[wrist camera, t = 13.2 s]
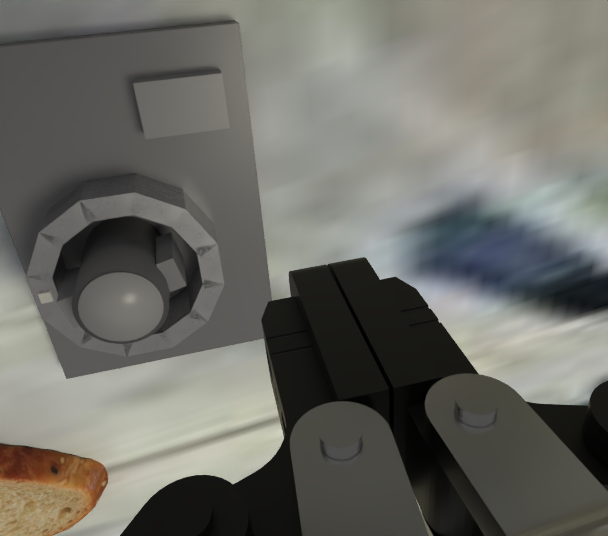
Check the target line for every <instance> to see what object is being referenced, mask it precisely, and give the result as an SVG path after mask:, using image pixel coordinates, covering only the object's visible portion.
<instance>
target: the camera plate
mask: <svg viewBox="0 0 608 536" xmlns="http://www.w3.org/2000/svg"><path fill="white" fill-rule="evenodd" d="M134 173H137V174H140V175H143V176H146V177H149V178H152V179H155V180H157V181H160V182H163V183H166V184H169V185H172V186H175V187H178V188H180V189H183V190H184V191H185V192H186V193H187V194H188V196H189V197H190V198H191V199H192V200H193V201H194V202H195V203H196V204H197V206H198V207H199V208H200V209H201V210H202V211H203V212H204V213H205V214H206V215H207V217H208V218H209V219H210V220H211V221H212V222H213V226H214V230H215V235H216V239H217V243H218V249H219V255H220V261H221V267H222V273H223V279H224V284H225V285H224V287H223V289H222V292H221V294H220V296H219V298H218V300H217V303H216V305H215V307H214V309H213V311H212V314H211V316H210V318H209V320H208V322H207V323H206V324H204V325H203V326H201V327H200V328H199V329H197V330H196V331H195V332H193V333H192V334H191V335H189V336H188V337H186V338H185V339H184V340H182V341H181V342H180V343H178V344H177V345H175V346H174V347H173V348H168V349H163V350H158V351H153V352H148V353H143V354H138V355H133V356H128V357H126V356H121V355H116V354H111V353H106V352H102V351H97V350H92V349H87V348H82V347H79V346H78V345H77V344H75V343H74V342H73V341H71V340H70V339H69V338H67V337H66V336H65V335H63V334H62V333H61V332H59V331H58V330H57V329H55V328H54V327H53V326H51V325H50V324H49V323H47V322H46V321H45V320H44V322H45V325H46V327H47V330H48V332H49V335H50V338H51V340H52V343H53V345H54V348H55V350H56V353H57V356H58V358H59V361H60V363H61V366H62V368H63V371H64V374H65V376H66V379H68V378H73V377H78V376H83V375H88V374H93V373H97V372H102V371H107V370H112V369H117V368H122V367H127V366H132V365H136V364H141V363H146V362H151V361H156V360H161V359H166V358H171V357H175V356H180V355H185V354H190V353H195V352H200V351H205V350H210V349H214V348H219V347H224V346H229V345H234V344H239V343H244V342H248V341H253V340H258V339H263V338H264V334H263V328H262V322H261V319H262V316H263V314H264V311H265V308H266V306H267V303H268V302H269V301H272V298H271V290H270V281H269V273H268V264H267V256H266V248H265V239H264V231H263V222H262V214H261V205H260V197H259V189H258V180H257V172H256V163H255V155H254V146H253V138H252V130H251V121H250V113H249V104H248V96H247V87H246V79H245V71H244V62H243V54H242V45H241V37H240V28H239V23H238V22H236V21H228V22H218V23H207V24H197V25H187V26H177V27H167V28H156V29H146V30H136V31H126V32H116V33H106V34H95V35H85V36H75V37H65V38H55V39H44V40H34V41H24V42H14V43H4V44H0V209H1V211H2V214H3V217H4V219H5V222H6V224H7V227H8V229H9V232H10V235H11V237H12V240H13V242H14V245H15V247H16V250H17V253H18V255H19V258H20V260H21V263H22V265H23V268H24V271H25V273H26V275H27V272H28V268H29V265H30V261H31V258H32V255H33V251H34V248H35V244H36V241H37V237H38V234H39V231H40V229H41V226H42V224H43V222H44V219H45V217H46V215H47V213H48V210H49V209H50V208H52V207H53V206H54V205H55V204H57V203H58V202H59V201H61V200H62V199H63V198H64V197H66V196H67V195H68V194H69V193H71V192H72V191H73V190H74V189H76V188H77V187H78V186H80V185H81V184H82V183H83V182H85V181H86V180H92V179H99V178H106V177H113V176H120V175H127V174H134ZM131 217H136V218H139V219H142V220H145V221H147V222H148V223H150V224H152V225H153V226H154V227H155V228H156V229H157V230H158V231H159V232H160V233H161V235H164V234H167V233H170V232H171V233H172V235H173V237H174V239H175V241H176V243H177V245H178V248H179V250H180V252H181V254H182V256H183V258H184V267H185V276H186V286H185V287H182V288H180V289H177V290H174V291H172V292H170V290H169V300H170V299H172V298H173V297H174V296H176V295H177V294H178V293H180V292H181V291H182V290H184V289H185V288H187V287H188V285H189V282H190V280H191V277H192V275H193V273H194V270H195V268H196V266H197V263H198V256H197V253H196V251H195V250H194V249H193V248H192V247H191V246H190V245H189V244H188V243H187V242H186V241H185V240H184V239H183V238H182V237H181V236H180V235H179V234H178V233H177V232H176V231H175V230H174V229H173V228H172V227H170V226H167V225H164V224H160V223H157V222H154V221H151V220H148V219H145V218H141V217H138V216H135V215H131ZM105 220H107V219H105ZM105 220H99V221H93V222H91V223H90V224H89V225H88V226H86V227H85V228H84V229H82V230H81V231H80V232H79V233H77V234H76V235H75V236H73V237H72V238H71V239H70V240H68V241H67V242H66V243H64V244H63V246H62V249H61V255H62V258H63V261H64V264H65V267H66V270H67V271H68V270H70V269H73V268H76V267H79V266H80V265H81V261H82V257H83V253H84V249H85V245H86V241H87V238H88V236H89V234H90V233H91V231H92V230H93V229H94V228H95V227H96V226H97V225H98V224H100V223H101V222H103V221H105Z"/></svg>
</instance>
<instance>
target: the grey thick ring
mask: <svg viewBox="0 0 608 536" xmlns="http://www.w3.org/2000/svg"><path fill="white" fill-rule="evenodd" d="M131 215H135V216H138V217H141V218H145V219H148V220H151V221H154V222H157V223H160V224H164V225H167V226H170V227H172V228H173V229H174V230H175V231H176V232H177V233H178V234H179V235H180V236H181V237H182V238H183V239H184V240H185V241H186V242H187V243H188V244H189V245H190V246H191V247H192V248H193V249H194V250H195V251H196V253H197V256H198V263H197V266H196V268H195V270H194V273H193V275H192V277H191V280H190V282H189V285H188V287H187V288H185V289H184V290H182V291H181V292H180V293H178V294H177V295H176V296H174V297H173V298H172V299H170V300H169V304H170V305H169V312H168V316H167V318H166V320H165V322H164V324H163V325H162V326H161V327H160V328H159V329H158V330H157V331H156V332H155V333H154V334H152V335H151V336H149V337H147V338H145V339H143V340H141V341H137V342H133V343H127V344H115V343H108V342H104V341H101V340H98V339H96V338H94V337H92V336H91V335H89V334H88V333H86V332H85V331H84V330H83V329H82V328H81V327H77V328H73V326H72V325H71V323H70V322H69V320H68V319H67V317H66V316H65V314H64V313H63V311H62V310H61V308H60V307H59V305H58V304H57V302H56V301H57V298H58V294H59V291H60V288H61V284H62V281H63V277H64V274H65V271H67V270H66V267H65V264H64V261H63V258H62V255H61V249H62V246H63V244H64V243H66V242H67V241H68V240H70V239H71V238H72V237H73V236H75V235H76V234H77V233H79V232H80V231H81V230H82V229H84V228H85V227H86V226H88V225H89V224H90V223H91V222H93V221H99V220H105V219H112V218H118V217H124V216H131ZM26 278H27V281H28V283H29V286H30V288H31V291H32V293H33V296H34V299H35V301H36V304H37V306H38V309H39V311H40V314H41V317H42V319H43V320H45V321H46V322H47V323H49V324H50V325H51V326H53V327H54V328H55V329H57V330H58V331H59V332H61V333H62V334H63V335H65V336H66V337H67V338H69V339H70V340H71V341H73V342H74V343H75V344H77V345H78V346H79V347H82V348H87V349H92V350H97V351H102V352H106V353H111V354H116V355H121V356H126V357H128V356H133V355H138V354H143V353H148V352H153V351H158V350H163V349H168V348H173V347H174V346H175V345H177V344H178V343H180V342H181V341H182V340H184V339H185V338H186V337H188V336H189V335H191V334H192V333H193V332H195V331H196V330H197V329H199V328H200V327H201V326H203V325H204V324H206V323H207V322H208V320H209V318H210V316H211V314H212V311H213V309H214V307H215V305H216V303H217V300H218V298H219V296H220V294H221V292H222V289H223V287H224V285H225V284H224V279H223V273H222V267H221V261H220V255H219V249H218V243H217V239H216V235H215V230H214V226H213V222H212V221H211V220H210V219H209V218H208V217H207V215H206V214H205V213H204V212H203V211H202V210H201V209H200V208H199V207H198V206H197V204H196V203H195V202H194V201H193V200H192V199H191V198H190V197H189V196H188V194H187V193H186V192H185V191H184V190H183V189H180V188H178V187H175V186H172V185H169V184H166V183H163V182H160V181H157V180H155V179H152V178H149V177H146V176H143V175H140V174H137V173H134V174H127V175H120V176H113V177H106V178H99V179H92V180H86V181H85V182H83V183H82V184H81V185H80V186H78V187H77V188H76V189H74V190H73V191H72V192H71V193H69V194H68V195H67V196H66V197H64V198H63V199H62V200H61V201H59V202H58V203H57V204H55V205H54V206H53V207H52V208H50V209H49V210H48V213H47V215H46V217H45V219H44V222H43V224H42V226H41V229H40V231H39V234H38V237H37V241H36V244H35V248H34V251H33V255H32V258H31V261H30V265H29V268H28V272H27V275H26Z"/></svg>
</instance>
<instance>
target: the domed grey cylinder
mask: <svg viewBox="0 0 608 536" xmlns="http://www.w3.org/2000/svg"><path fill="white" fill-rule="evenodd" d="M185 286H186V276H185V267H184V258H183V256H182V254H181V252H180V250H179V248H178V245H177V243H176V241H175V239H174V237H173V235H172V233H171V232H170V233H167V234H164V235H161V233H160V232H159V231H158V230H157V229H156V228H155V227H154V226H153V225H152V224H150V223H148V222H147V221H145V220H142V219H139V218H136V217H131V216H124V217H118V218H112V219H107V220H105V221H103V222H101V223H100V224H98V225H97V226H96V227H95V228H94V229H93V230H92V231H91V233H90V234H89V236H88V238H87V241H86V245H85V249H84V253H83V257H82V261H81V265H80V266H79V267H76V268H73V269H70V270H68V271H65V274H64V277H63V281H62V284H61V288H60V291H59V294H58V298H57V301H56V302H57V304H58V305H59V307H60V308H61V310H62V311H63V313H64V314H65V316H66V317H67V319H68V320H69V322H70V323H71V325H72V326H73V328H77V327H81V328H82V329H83V330H84V331H85V332H86V333H88V334H89V335H91V336H92V337H94V338H96V339H98V340H101V341H104V342H108V343H115V344H127V343H133V342H137V341H141V340H143V339H145V338H147V337H149V336H151V335H152V334H154V333H155V332H156V331H157V330H158V329H159V328H160V327H161V326H162V325H163V324H164V322H165V320H166V318H167V316H168V312H169V305H170V304H169V290H170V292H172V291H174V290H177V289H180V288H182V287H185Z"/></svg>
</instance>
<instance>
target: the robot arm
mask: <svg viewBox="0 0 608 536" xmlns="http://www.w3.org/2000/svg"><path fill="white" fill-rule="evenodd" d="M289 283H290V291H291V297H289V298H284V299H279V300H274V301H269V302H268V303H267V306H266V308H265V311H264V314H263V316H262V319H261V322H262V328H263V334H264V341H265V347H266V353H267V359H268V366H269V372H270V378H271V383H272V387H273V392H274V396H275V400H276V404H277V409H278V413H279V417H280V422H281V426H282V430H283V435H284V440H283V443H282V445H281V447H280V449H279V450H278V452H277V453H276V455H275V456H274V457H273V458H272V459H271V460H270V461H269V462H268V463H267V464H266V465H265V466H263V467H262V468H261V469H259V470H258V471H256V472H254V473H253V474H251V475H249V476H247V477H246V478H244V479H242V480H240V481H239V482H237V483H235V484H231V483H230V482H228V481H226V480H224V479H223V478H219V477H216V476H210V475H195V476H190V477H186V478H183V479H180V480H177V481H175V482H173V483H171V484H169V485H167V486H165V487H164V488H162V489H161V490H159V491H158V492H157V493H156V494H155V495H153V496H152V497H151V498H150V499H149V500H148V502H147V503H146V504H145V505H144V506H143V507H142V509H141V510H140V511H139V512H138V514H137V515H136V516H135V517H134V519H133V520H132V521H131V522H130V524H129V525H128V526H127V528H126V529H125V530H124V531H123V533H122V534H121V535H120V536H608V381H606V382H604V383H602V384H600V385H599V386H598V387H596V388H595V389H594V391H593V392H592V394H591V397H590V401H589V405H588V406H581V405H554V404H537V403H530V402H526V401H525V400H524V399H523V398H522V397H521V396H520V395H519V394H518V393H517V392H516V391H515V390H514V389H512V388H511V387H510V386H508V385H507V384H505V383H503V382H501V381H499V380H497V379H494V378H492V377H488V376H484V375H479V374H478V373H477V371H476V370H475V369H474V367H473V366H472V364H471V363H470V362H469V360H468V359H467V358H466V356H465V355H464V354H463V352H462V351H461V349H460V348H459V347H458V345H457V344H456V343H455V341H454V340H453V339H452V337H451V336H450V334H449V333H448V332H447V330H446V329H445V328H444V326H443V325H442V324H441V323H439V322H438V318H437V317H436V315H435V314H434V313H433V311H432V310H431V309H429V308H428V305H427V303H426V302H425V300H424V299H423V298H422V296H421V295H420V294H419V292H418V291H417V290H416V289H415V288H414V287H412V286H410V285H409V284H407V283H405V282H403V281H402V280H400V279H398V278H397V277H392V278H387V279H382V280H380V279H379V277H378V276H377V274H376V273H375V271H374V270H373V268H372V266H371V265H370V263H369V262H368V260H367V259H366V258H364V257H363V258H358V259H352V260H347V261H342V262H336V263H331V264H328V265H321V266H315V267H310V268H305V269H299V270H294V271H289ZM415 497H416V498H415ZM416 499H417V501H416ZM417 502H418V504H419V506H420V509H419V506H418V504H417Z"/></svg>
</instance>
